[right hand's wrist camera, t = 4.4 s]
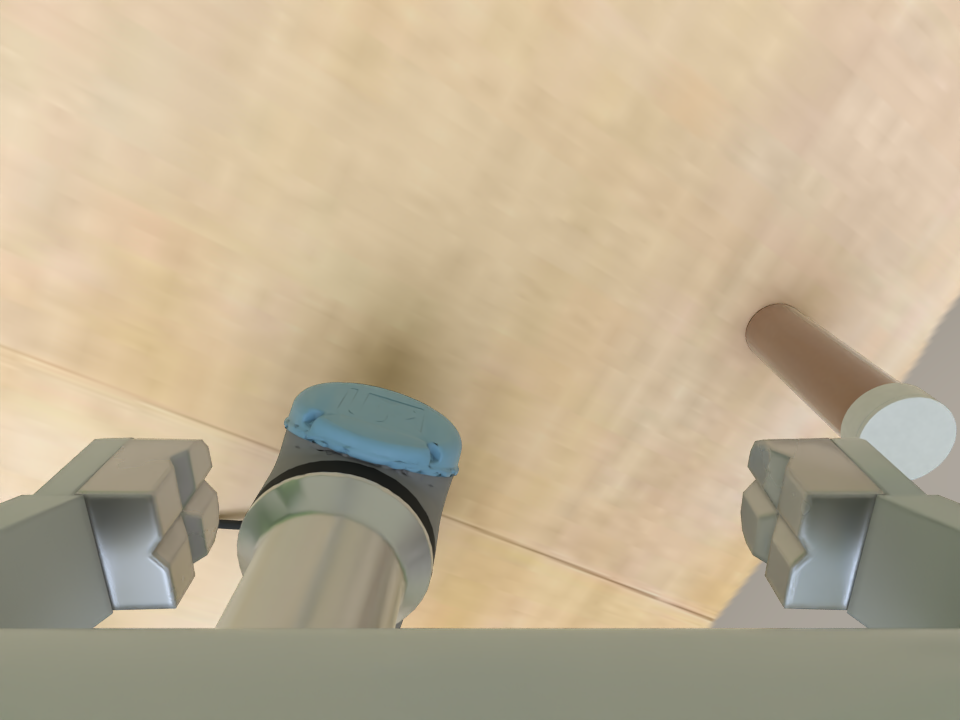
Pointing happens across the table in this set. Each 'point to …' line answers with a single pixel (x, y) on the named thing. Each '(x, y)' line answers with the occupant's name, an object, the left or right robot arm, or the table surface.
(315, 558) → the left robot arm
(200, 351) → the table surface
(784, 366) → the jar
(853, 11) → the table surface
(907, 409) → the lid
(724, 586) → the table surface
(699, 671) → the right robot arm
